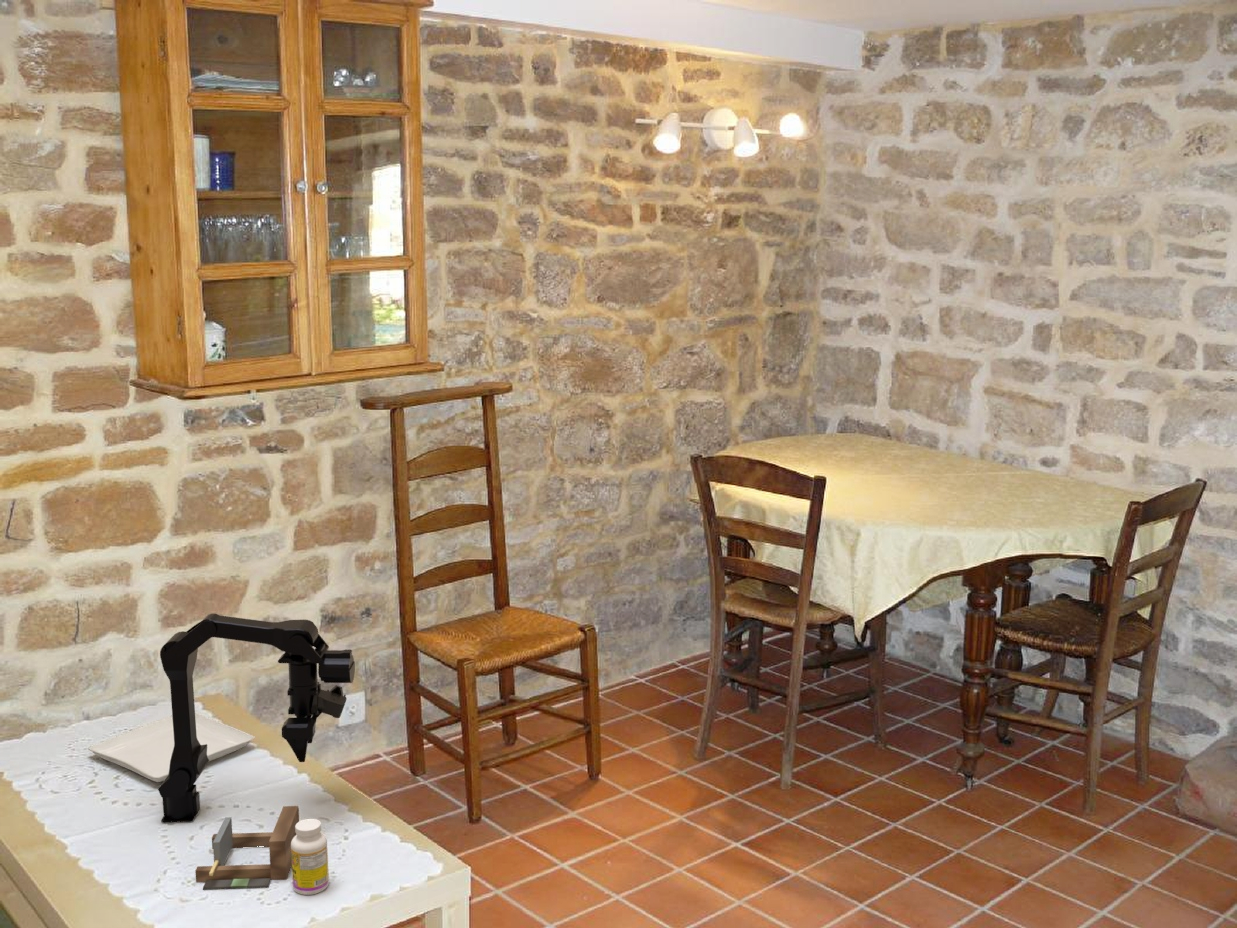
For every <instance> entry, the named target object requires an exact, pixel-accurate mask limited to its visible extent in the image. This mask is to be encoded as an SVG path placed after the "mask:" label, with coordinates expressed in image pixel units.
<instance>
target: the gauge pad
mask: <svg viewBox="0 0 1237 928" xmlns="http://www.w3.org/2000/svg"><path fill="white" fill-rule="evenodd" d="M232 833H233V821H232V816H231V817H230V816H229V817H224V819H223V821H222V823H221V825H220V827H219V830H218V831H217V833H216V834H217V835H216V837H215V839H214V841H213V849H212V851H213V853H212V854H213V865H211V866H212V868H211V871H210V873H209V876H213V874H214V872H215V870H216V867H217V866H225V863H226V861H227V859H228V856H229V854H230V852H231V850H232V849H233V848H232V846H233V836H232Z"/></svg>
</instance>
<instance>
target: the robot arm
mask: <svg viewBox="0 0 1237 928" xmlns="http://www.w3.org/2000/svg"><path fill="white" fill-rule="evenodd" d="M211 638H217V639H224V640H232V641H233V640H234V641H239V642H240V641H241V642H248V643H257V644H264V645H269V646H271V647H274V648H276V649H277V650H279V651H281V652H284V653H282V654H281V656H280V657H279V658H278V660H277V663H278V664H288V689H287V696H289V707H288V710H287V714H288V715H294V716H295V717H287V719H286V720H285V721H284V722H283V724H282V727H281V737H282V738H283V739H284V740H286V742H287V743H288V745H289V747H290V748H291V749H292V752H293V753H294V755H295V757H296V758H297V760H298V762H299V763H304V762H305V761H306V758H307V757H306V756H307V750H308V744H312V743H313V741H314V740H313V739H314V736H315V733H316V726H317V725H316V723H317V718H319V716H320V715H321V714H325V715H329V716H331V717H332V718H334V719H339V718H341V715H342V713H343V710H344V708H345V705H346V702H347V696H346V694H344V691H343V687H342V686H341V685H337V684H353V683H354V680H355V679H354V678H355V670H356V662H355V659H354V656H353V651H352V649H343V650H333V649H331V650H329V648H330V647H329V644H328V643H327V642H326V641H325V639H324V638H323V637H322V636H321V635H320V634H319V629H318V627H317V625H316V624H315V623H314V622H313V621H312V620H309V619H288V620H284V621H278V622H277V621H266V620H265V621H264V620H257V619H249V618H241V617H234V616H227V615H220V614H217V613H209V614H207V615H206V616H205V617H204V618H203V619H202V620H201V621H199V622H197V623H196V624H195V625H193V626H191V627H190V628H189V629H188V630H186V631H178V632H176V633H174V634H173V636H171V638H170V639H168V641H167V642H165V644H163V645H162V647H161V648H160V651H159V658H160V661H161V664H162V668H163V671H164V673H165V675H166V677H167V678H168V680H169V686H170V687H169V689H170V700H171V701H170V702H171V714H172V715H171V716H172V718H173V732H174V748H173V752H172V756H171V760H170V767H169V775H168V776H167V777H166V779H165V780H164V781H162V783H161V784H160V785H159V787H158V789H157V791H158V793H159V796H160V797H161V798H162V809H163V810H162V811H163V816H162V818H161V819H160V820H161V823H162V824H164V823H165V824H166V823H168V824H169V823H192V822H194V820H195V819H196V816H197V815H198V814H199V812H200V811H201V800H200V792H199V791H197V784H195V783H196V782H197V780H198V779H199V778H200V776H201V774H202V773H203V771H204V770H205V768H206V765H208V763H209V762H210V761H209V759H208V757H207V744H205V745H200V743H199V741H198V740H197V735H196V720H195V713H196V707H195V694H194V693H195V692H194V680H193V679H194V677H193V675H194V671H195V667H196V663H197V658H198V650H199V648H200V647H201V646H203V645H204V644H205V643H206V642H207V641H209V640H210V639H211ZM318 678H320V681H321V682H324V683H325V684H335V685H334V686H333V687H332V688H331V689H327V690H326V689H322V683H320V681H319V680H318Z"/></svg>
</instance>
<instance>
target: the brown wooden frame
mask: <svg viewBox="0 0 1237 928" xmlns="http://www.w3.org/2000/svg"><path fill="white" fill-rule="evenodd" d="M299 808H300V807H299V805H287V806H286V805H284V806H283V807H282V809H281V811H280V814H279V816H278V818H277V822H276V823H275V826H274V828H273V831H272V832H268V831H267V832H244V833H243V832H242V833H241V832H240V833H237V832H235V833H233V832H232V836H233V846H232V848H231V849H244V848H243V847H257V846H258V847H259V846H264V847H263V848H269V849H268V850H269V864H268V863H267V864H264V863H262V864H238V865H237V864H236V865H234V864H233V865H224V866H217V867H216V870H215V872H214V874H213V876H209V873H210V871H211V868H212V866H213V865H206V866H205V865H203V866H202V865H201V866H197V867H196V868H195V883H204V885H203V887H202V890H203V891H209V890H212V891H213V890H240V889H241V890H243V889H247V890H248V889H268V888H269V886H270V883H271V881H278V880H280V881H281V880H287V881H288V877H289V875H290V872H291V871H292V858H291V841H292V839H293V838H294V836H296V835H297V834H296V832H295V825H296V824H297V823H298V822H299V821H300V810H299ZM216 835H217V833H214V834H213V835H212V837H211V846H212V850H213V841H214V839H215V837H216Z"/></svg>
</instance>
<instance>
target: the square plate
mask: <svg viewBox="0 0 1237 928" xmlns="http://www.w3.org/2000/svg"><path fill="white" fill-rule="evenodd" d="M195 720H196V735H197V740H198V741H199V743H200V745H205V744H207V757H208V759H209V762H212V761H214V760H216V759H218V758H221V757H224V756H227V755H228V754H230V753H231V754H232V753H233V752H235V751H238V750H240V749H242V748H244V747H245V746H247V745H249V744H250V743H251V742H252V741H253V740H254V739H256V736H255V735H252V734H251V733H247V732H245V731H243V730H240V729H239V728H235V727H233V726H231V725H229V724H226V723H223V722H220V721H219V720H218V721H217V720H215V719H213V718H210V717H207V716H205V715H202V714H199V713H196V712H195ZM173 748H174V732H173V718H172V715H170V716H167V717H165V718H164V717H163V718H161V719H159V720H156V721H153V722H150V723H147V724H145V725H142V726H140V727H137V728H134V729H132V730H129V731H126V732H123V733H121V734H118V735H116V736H113V737H111V738H108V739H106V740H104V741H101V742H98V743H97V744H93V745H92V746H89V747H88V748H87V750H88V751H90V752H92V753H93V754H94V755H96V756H97V757H99V758H101V759H102V760H103V759H104V760H106V761H108V762H110V763H112V764H116V765H118V766H121V767H123V768H125V769H128V770H130V771H132V772H134V773H136V774H139V775H140V776H142V777H144V778H146V779H148V780H151V781H153V782H155V783H160V782H163V781H164V780H165V779H166V777H167V776H168V775H169V767H170V760H171V756H172V752H173Z"/></svg>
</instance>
